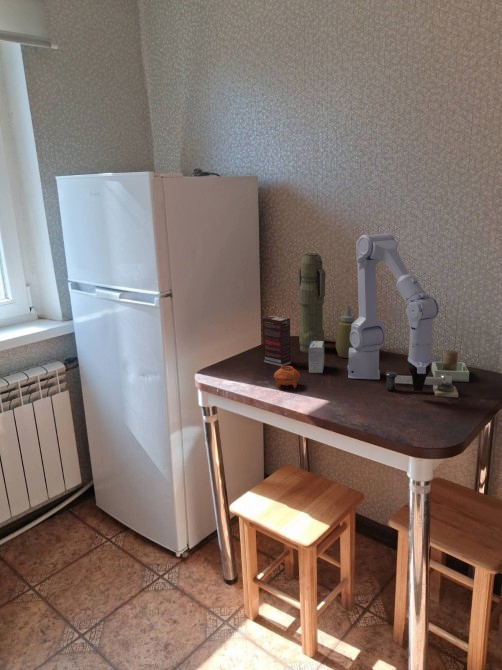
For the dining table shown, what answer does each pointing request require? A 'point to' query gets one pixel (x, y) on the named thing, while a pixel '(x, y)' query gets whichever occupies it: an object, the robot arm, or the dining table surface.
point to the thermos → (311, 300)
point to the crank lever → (394, 378)
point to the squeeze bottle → (344, 333)
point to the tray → (458, 375)
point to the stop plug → (450, 360)
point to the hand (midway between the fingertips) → (417, 390)
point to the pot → (286, 376)
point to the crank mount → (445, 391)
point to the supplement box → (276, 340)
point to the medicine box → (316, 357)
